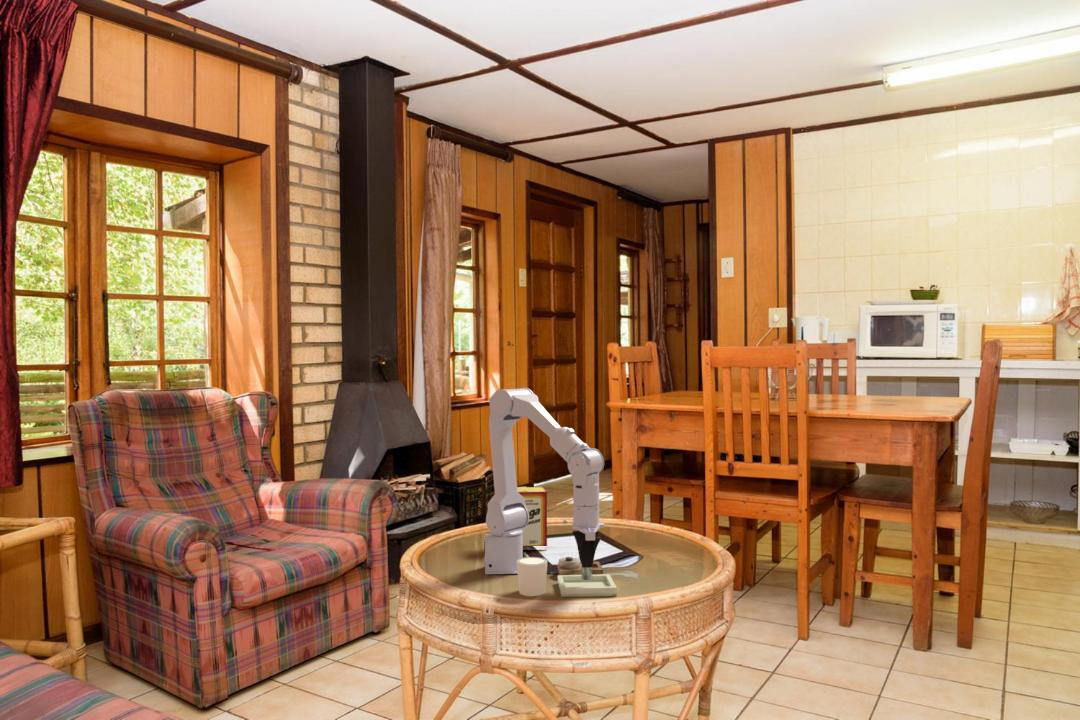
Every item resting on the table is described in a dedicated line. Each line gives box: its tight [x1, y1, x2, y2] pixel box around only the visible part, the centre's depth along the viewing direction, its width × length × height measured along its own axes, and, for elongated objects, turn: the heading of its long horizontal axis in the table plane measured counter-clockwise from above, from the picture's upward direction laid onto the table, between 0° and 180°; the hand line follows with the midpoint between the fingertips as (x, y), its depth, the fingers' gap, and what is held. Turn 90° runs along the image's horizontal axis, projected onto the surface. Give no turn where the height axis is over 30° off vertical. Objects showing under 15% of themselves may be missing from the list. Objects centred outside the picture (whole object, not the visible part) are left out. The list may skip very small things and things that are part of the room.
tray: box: [556, 573, 618, 598], centre depth 173 cm, size 12×10×2 cm
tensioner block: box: [557, 556, 604, 575], centre depth 185 cm, size 10×7×4 cm
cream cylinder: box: [516, 556, 548, 597], centre depth 171 cm, size 7×7×7 cm
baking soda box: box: [517, 486, 548, 547], centre depth 210 cm, size 10×6×16 cm
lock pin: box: [581, 563, 592, 580], centre depth 173 cm, size 2×2×7 cm
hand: (586, 565), depth 173 cm, fingers closed on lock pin, 2 cm apart
